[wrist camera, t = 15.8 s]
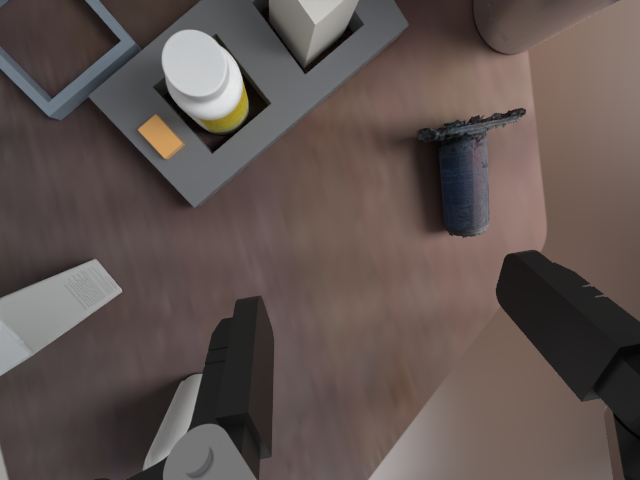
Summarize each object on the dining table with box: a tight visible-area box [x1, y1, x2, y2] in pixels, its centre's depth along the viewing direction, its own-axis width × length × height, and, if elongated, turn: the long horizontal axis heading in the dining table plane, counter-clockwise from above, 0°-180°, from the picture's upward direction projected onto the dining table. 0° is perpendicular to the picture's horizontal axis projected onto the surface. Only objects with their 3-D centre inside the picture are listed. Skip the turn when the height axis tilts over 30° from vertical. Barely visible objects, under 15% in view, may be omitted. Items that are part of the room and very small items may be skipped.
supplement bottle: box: [162, 30, 249, 135], centre depth 24 cm, size 5×5×10 cm
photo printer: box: [143, 374, 202, 471], centre depth 27 cm, size 10×4×12 cm, turn 179°
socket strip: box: [88, 0, 409, 208], centre depth 24 cm, size 26×12×8 cm, turn 130°
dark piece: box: [417, 108, 526, 238], centre depth 31 cm, size 9×8×12 cm
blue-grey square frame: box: [0, 0, 142, 120], centre depth 25 cm, size 10×10×2 cm
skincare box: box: [0, 259, 122, 376], centre depth 23 cm, size 6×4×12 cm
